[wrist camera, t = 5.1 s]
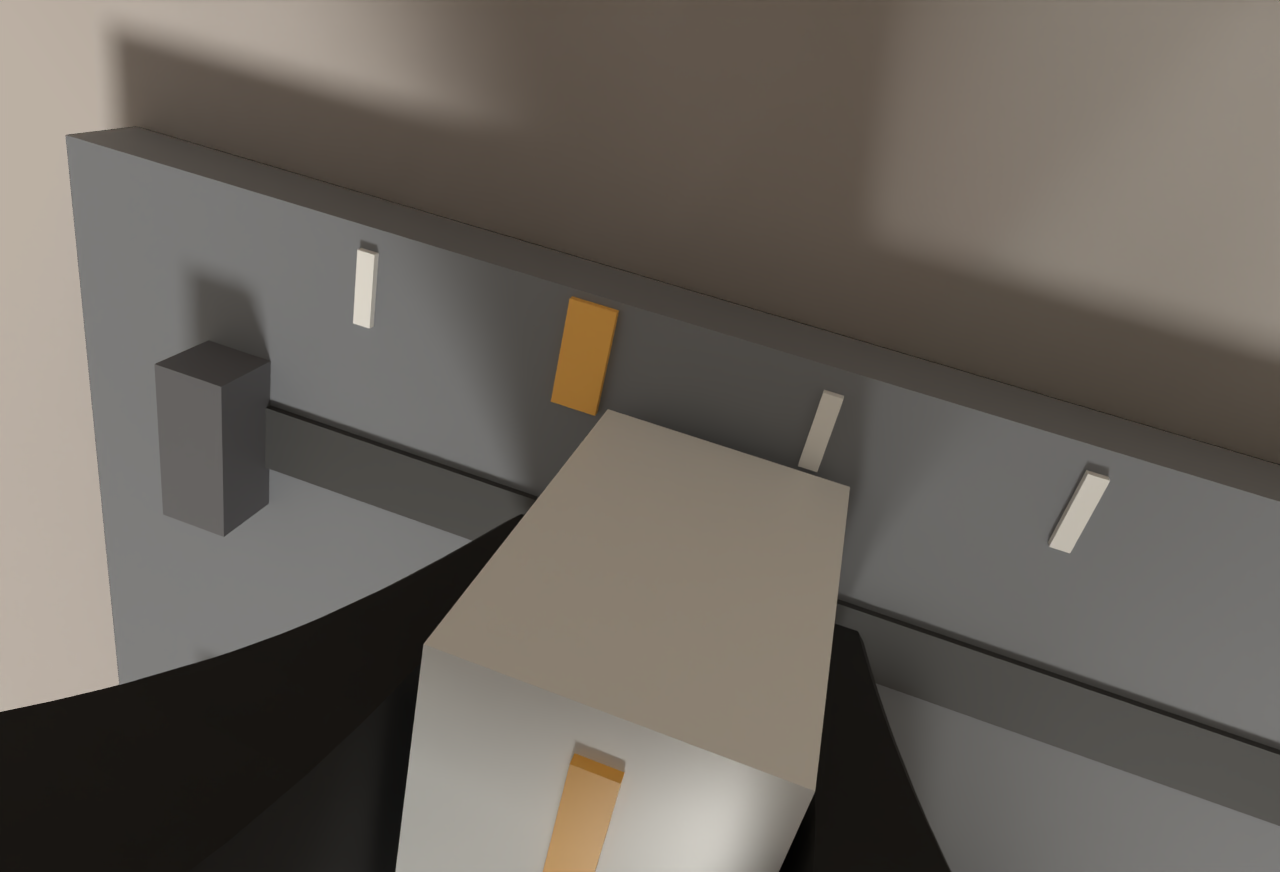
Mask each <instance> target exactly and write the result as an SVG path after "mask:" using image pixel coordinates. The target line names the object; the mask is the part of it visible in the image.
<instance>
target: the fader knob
mask: <svg viewBox="0 0 1280 872" xmlns="http://www.w3.org/2000/svg"><path fill="white" fill-rule="evenodd" d="M849 492H850V487H849V486H845V485H842V484H839V483H836V482H833V481H830V480H827V479H824V478H821V477H817V476H814V475H811V474H808V473H805V472H802V471H799V470H796V469H793V468H789V467H786V466H783V465H780V464H777V463H774V462H771V461H768V460H765V459H761V458H758V457H755V456H752V455H749V454H746V453H743V452H740V451H737V450H734V449H730V448H727V447H724V446H721V445H718V444H715V443H712V442H709V441H706V440H702V439H699V438H696V437H693V436H690V435H687V434H684V433H681V432H678V431H674V430H671V429H668V428H665V427H662V426H659V425H656V424H653V423H650V422H646V421H643V420H640V419H637V418H634V417H631V416H628V415H625V414H622V413H618V412H615V411H612V410H609V409H608V410H607V411H606V412H605V413H604V415H603V416H602V417H601V418H600V420H599V421H598V422H597V424H596V425H595V426H594V427H593V429H592V430H591V431H590V432H589V434H588V435H587V436H586V438H585V439H584V440H583V441H582V443H581V444H580V445H579V446H578V448H577V449H576V450H575V452H574V453H573V454H572V455H571V457H570V458H569V459H568V461H567V462H566V463H565V464H564V466H563V467H562V468H561V469H560V471H559V472H558V473H557V475H556V476H555V477H554V478H553V480H552V481H551V482H550V483H549V485H548V486H547V487H546V489H545V490H544V491H543V492H542V494H541V495H540V496H539V497H538V499H537V500H536V501H535V503H534V504H533V505H532V506H531V508H530V509H529V510H528V512H527V513H526V514H525V515H524V517H523V518H522V519H521V520H520V522H519V523H518V524H517V526H516V527H515V528H514V529H513V531H512V532H511V533H510V534H509V536H508V537H507V538H506V540H505V541H504V542H503V543H502V545H501V546H500V547H499V548H498V550H497V551H496V552H495V554H494V555H493V556H492V557H491V559H490V560H489V561H488V562H487V564H486V565H485V566H484V568H483V569H482V570H481V571H480V573H479V574H478V575H477V577H476V578H475V579H474V580H473V582H472V583H471V584H470V585H469V587H468V588H467V589H466V591H465V592H464V593H463V594H462V596H461V597H460V598H459V599H458V601H457V602H456V603H455V605H454V606H453V607H452V608H451V610H450V611H449V612H448V613H447V615H446V616H445V617H444V619H443V620H442V621H441V622H440V624H439V625H438V626H437V628H436V629H435V630H434V631H433V633H432V634H431V635H430V636H429V638H428V639H427V640H426V642H425V643H424V644H423V652H422V660H421V668H420V677H419V685H418V693H417V701H416V709H415V717H414V725H413V733H412V741H411V750H410V758H409V766H408V774H407V782H406V790H405V798H404V806H403V814H402V823H401V831H400V839H399V847H398V855H397V863H396V871H395V872H779V870H780V868H781V866H782V864H783V861H784V859H785V857H786V855H787V853H788V850H789V848H790V846H791V844H792V842H793V839H794V837H795V835H796V833H797V830H798V828H799V826H800V824H801V822H802V819H803V817H804V815H805V813H806V811H807V808H808V806H809V804H810V802H811V800H812V797H813V795H814V793H815V789H816V780H817V772H818V763H819V754H820V745H821V737H822V728H823V719H824V711H825V702H826V693H827V684H828V676H829V667H830V658H831V649H832V641H833V632H834V623H835V615H836V606H837V597H838V588H839V580H840V571H841V562H842V554H843V545H844V536H845V527H846V519H847V510H848V501H849Z"/></svg>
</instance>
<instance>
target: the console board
mask: <svg viewBox="0 0 1280 872" xmlns="http://www.w3.org/2000/svg"><path fill="white" fill-rule="evenodd" d="M66 145H67V155H68V165H69V175H70V186H71V196H72V206H73V216H74V226H75V237H76V247H77V257H78V267H79V278H80V288H81V298H82V308H83V318H84V329H85V339H86V349H87V359H88V370H89V380H90V390H91V400H92V410H93V421H94V431H95V441H96V451H97V462H98V472H99V482H100V492H101V502H102V513H103V523H104V533H105V543H106V553H107V564H108V574H109V584H110V594H111V605H112V615H113V625H114V635H115V645H116V656H117V666H118V676H119V685H121V684H125V683H128V682H131V681H135V680H138V679H142V678H145V677H149V676H152V675H155V674H159V673H162V672H166V671H169V670H173V669H176V668H179V667H183V666H186V665H190V664H193V663H197V662H200V661H203V660H207V659H210V658H214V657H217V656H220V655H223V654H226V653H229V652H232V651H235V650H238V649H240V648H243V647H246V646H249V645H252V644H254V643H257V642H260V641H263V640H265V639H268V638H271V637H274V636H276V635H279V634H282V633H284V632H287V631H289V630H292V629H294V628H297V627H299V626H302V625H304V624H306V623H309V622H311V621H314V620H316V619H318V618H321V617H323V616H325V615H327V614H329V613H332V612H334V611H336V610H338V609H340V608H342V607H345V606H347V605H349V604H351V603H353V602H355V601H358V600H360V599H362V598H364V597H366V596H368V595H371V594H373V593H375V592H377V591H379V590H381V589H383V588H385V587H387V586H389V585H391V584H393V583H395V582H397V581H399V580H401V579H403V578H405V577H407V576H408V575H410V574H412V573H414V572H416V571H418V570H420V569H422V568H424V567H426V566H427V565H429V564H431V563H433V562H435V561H437V560H439V559H441V558H442V557H444V556H446V555H448V554H450V553H451V552H453V551H455V550H457V549H459V548H460V547H462V546H464V545H466V544H468V543H469V542H471V541H473V540H475V539H476V538H478V537H480V536H482V535H483V534H485V533H487V532H489V531H490V530H492V529H494V528H496V527H497V526H499V525H501V524H503V523H504V522H506V521H508V520H510V519H512V518H514V517H516V516H518V515H520V514H523V515H525V514H526V513H527V512H528V510H529V509H530V508H531V506H532V505H533V504H534V503H535V501H536V500H537V499H538V497H539V496H540V495H541V494H542V492H543V491H544V490H545V489H546V487H547V486H548V485H549V483H550V482H551V481H552V480H553V478H554V477H555V476H556V475H557V473H558V472H559V471H560V469H561V468H562V467H563V466H564V464H565V463H566V462H567V461H568V459H569V458H570V457H571V455H572V454H573V453H574V452H575V450H576V449H577V448H578V446H579V445H580V444H581V443H582V441H583V440H584V439H585V438H586V436H587V435H588V434H589V432H590V431H591V430H592V429H593V427H594V426H595V425H596V424H597V422H598V421H599V420H600V418H601V417H602V416H603V415H604V413H605V412H606V411H607V410H608V409H609V410H612V411H615V412H618V413H622V414H625V415H628V416H631V417H634V418H637V419H640V420H643V421H646V422H650V423H653V424H656V425H659V426H662V427H665V428H668V429H671V430H674V431H678V432H681V433H684V434H687V435H690V436H693V437H696V438H699V439H702V440H706V441H709V442H712V443H715V444H718V445H721V446H724V447H727V448H730V449H734V450H737V451H740V452H743V453H746V454H749V455H752V456H755V457H758V458H761V459H765V460H768V461H771V462H774V463H777V464H780V465H783V466H786V467H789V468H793V469H796V470H799V471H802V472H805V473H808V474H811V475H814V476H817V477H821V478H824V479H827V480H830V481H833V482H836V483H839V484H842V485H845V486H849V487H850V492H849V501H848V510H847V519H846V527H845V536H844V545H843V554H842V562H841V571H840V580H839V588H838V597H837V606H836V615H835V623H836V624H838V625H841V626H844V627H847V628H850V629H853V630H856V631H858V632H859V634H860V636H861V638H862V640H863V642H864V645H865V649H866V652H867V656H868V659H869V663H870V666H871V670H872V673H873V676H874V680H875V683H876V686H877V689H878V692H879V695H880V698H881V701H882V704H883V707H884V710H885V713H886V716H887V719H888V722H889V725H890V727H891V730H892V733H893V736H894V738H895V741H896V744H897V746H898V749H899V751H900V754H901V757H902V759H903V762H904V764H905V767H906V769H907V772H908V774H909V777H910V779H911V782H912V785H913V787H914V790H915V792H916V794H917V797H918V799H919V801H920V804H921V806H922V808H923V811H924V813H925V815H926V818H927V820H928V822H929V825H930V827H931V829H932V831H933V833H934V835H935V838H936V840H937V842H938V844H939V846H940V848H941V851H942V853H943V855H944V857H945V859H946V861H947V864H948V866H949V868H950V870H951V872H1280V465H1277V464H1274V463H1271V462H1267V461H1264V460H1260V459H1257V458H1254V457H1250V456H1247V455H1244V454H1240V453H1237V452H1233V451H1230V450H1227V449H1223V448H1220V447H1217V446H1213V445H1210V444H1206V443H1203V442H1200V441H1196V440H1193V439H1190V438H1186V437H1183V436H1179V435H1176V434H1173V433H1169V432H1166V431H1163V430H1159V429H1156V428H1152V427H1149V426H1146V425H1142V424H1139V423H1136V422H1132V421H1129V420H1125V419H1122V418H1119V417H1115V416H1112V415H1109V414H1105V413H1102V412H1098V411H1095V410H1092V409H1088V408H1085V407H1082V406H1078V405H1075V404H1071V403H1068V402H1065V401H1061V400H1058V399H1055V398H1051V397H1048V396H1044V395H1041V394H1038V393H1034V392H1031V391H1028V390H1024V389H1021V388H1017V387H1014V386H1011V385H1007V384H1004V383H1001V382H997V381H994V380H990V379H987V378H984V377H980V376H977V375H974V374H970V373H967V372H963V371H960V370H957V369H953V368H950V367H947V366H943V365H940V364H936V363H933V362H930V361H926V360H923V359H920V358H916V357H913V356H909V355H906V354H903V353H899V352H896V351H893V350H889V349H886V348H882V347H879V346H876V345H872V344H869V343H866V342H862V341H859V340H855V339H852V338H849V337H845V336H842V335H839V334H835V333H832V332H828V331H825V330H822V329H818V328H815V327H812V326H808V325H805V324H801V323H798V322H795V321H791V320H788V319H785V318H781V317H778V316H774V315H771V314H768V313H764V312H761V311H758V310H754V309H751V308H747V307H744V306H741V305H737V304H734V303H731V302H727V301H724V300H720V299H717V298H714V297H710V296H707V295H704V294H700V293H697V292H693V291H690V290H687V289H683V288H680V287H677V286H673V285H670V284H666V283H663V282H660V281H656V280H653V279H650V278H646V277H643V276H639V275H636V274H633V273H629V272H626V271H623V270H619V269H616V268H612V267H609V266H606V265H602V264H599V263H596V262H592V261H589V260H585V259H582V258H579V257H575V256H572V255H569V254H565V253H562V252H558V251H555V250H552V249H548V248H545V247H542V246H538V245H535V244H531V243H528V242H525V241H521V240H518V239H514V238H511V237H508V236H504V235H501V234H498V233H494V232H491V231H487V230H484V229H481V228H477V227H474V226H471V225H467V224H464V223H460V222H457V221H454V220H450V219H447V218H444V217H440V216H437V215H433V214H430V213H427V212H423V211H420V210H417V209H413V208H410V207H406V206H403V205H400V204H396V203H393V202H390V201H386V200H383V199H379V198H376V197H373V196H369V195H366V194H363V193H359V192H356V191H352V190H349V189H346V188H342V187H339V186H336V185H332V184H329V183H325V182H322V181H319V180H315V179H312V178H309V177H305V176H302V175H298V174H295V173H292V172H288V171H285V170H282V169H278V168H275V167H271V166H268V165H265V164H261V163H258V162H255V161H251V160H248V159H244V158H241V157H238V156H234V155H231V154H228V153H224V152H221V151H217V150H214V149H211V148H207V147H204V146H201V145H197V144H194V143H190V142H187V141H184V140H180V139H177V138H174V137H170V136H167V135H163V134H160V133H157V132H153V131H150V130H147V129H143V128H140V127H136V126H135V127H127V128H119V129H111V130H102V131H94V132H86V133H77V134H69V135H66Z"/></svg>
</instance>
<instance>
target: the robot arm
mask: <svg viewBox="0 0 1280 872" xmlns="http://www.w3.org/2000/svg"><path fill="white" fill-rule="evenodd" d="M523 517H524V515H523V514H520V515H518V516H516V517H514V518H512V519H510V520H508V521H506V522H504V523H503V524H501V525H499V526H497V527H496V528H494V529H492V530H490V531H489V532H487V533H485V534H483V535H482V536H480V537H478V538H476V539H475V540H473V541H471V542H469V543H468V544H466V545H464V546H462V547H460V548H459V549H457V550H455V551H453V552H451V553H450V554H448V555H446V556H444V557H442V558H441V559H439V560H437V561H435V562H433V563H431V564H429V565H427V566H426V567H424V568H422V569H420V570H418V571H416V572H414V573H412V574H410V575H408V576H407V577H405V578H403V579H401V580H399V581H397V582H395V583H393V584H391V585H389V586H387V587H385V588H383V589H381V590H379V591H377V592H375V593H373V594H371V595H368V596H366V597H364V598H362V599H360V600H358V601H355V602H353V603H351V604H349V605H347V606H345V607H342V608H340V609H338V610H336V611H334V612H332V613H329V614H327V615H325V616H323V617H321V618H318V619H316V620H314V621H311V622H309V623H306V624H304V625H302V626H299V627H297V628H294V629H292V630H289V631H287V632H284V633H282V634H279V635H276V636H274V637H271V638H268V639H265V640H263V641H260V642H257V643H254V644H252V645H249V646H246V647H243V648H240V649H238V650H235V651H232V652H229V653H226V654H223V655H220V656H217V657H214V658H210V659H207V660H203V661H200V662H197V663H193V664H190V665H186V666H183V667H179V668H176V669H173V670H169V671H166V672H162V673H159V674H155V675H152V676H149V677H145V678H142V679H138V680H135V681H131V682H128V683H125V684H121V685H117V686H113V687H109V688H105V689H101V690H97V691H93V692H89V693H85V694H80V695H76V696H72V697H68V698H64V699H59V700H55V701H51V702H46V703H41V704H36V705H32V706H27V707H22V708H17V709H13V710H8V711H3V712H0V872H395V871H396V863H397V855H398V847H399V839H400V831H401V823H402V814H403V806H404V798H405V790H406V782H407V774H408V766H409V758H410V750H411V741H412V733H413V725H414V717H415V709H416V701H417V693H418V685H419V677H420V668H421V660H422V652H423V644H424V643H425V642H426V640H427V639H428V638H429V636H430V635H431V634H432V633H433V631H434V630H435V629H436V628H437V626H438V625H439V624H440V622H441V621H442V620H443V619H444V617H445V616H446V615H447V613H448V612H449V611H450V610H451V608H452V607H453V606H454V605H455V603H456V602H457V601H458V599H459V598H460V597H461V596H462V594H463V593H464V592H465V591H466V589H467V588H468V587H469V585H470V584H471V583H472V582H473V580H474V579H475V578H476V577H477V575H478V574H479V573H480V571H481V570H482V569H483V568H484V566H485V565H486V564H487V562H488V561H489V560H490V559H491V557H492V556H493V555H494V554H495V552H496V551H497V550H498V548H499V547H500V546H501V545H502V543H503V542H504V541H505V540H506V538H507V537H508V536H509V534H510V533H511V532H512V531H513V529H514V528H515V527H516V526H517V524H518V523H519V522H520V520H521V519H522V518H523ZM779 872H951V870H950V868H949V866H948V864H947V861H946V859H945V857H944V855H943V853H942V851H941V848H940V846H939V844H938V842H937V840H936V838H935V835H934V833H933V831H932V829H931V827H930V825H929V822H928V820H927V818H926V815H925V813H924V811H923V808H922V806H921V804H920V801H919V799H918V797H917V794H916V792H915V790H914V787H913V785H912V782H911V779H910V777H909V774H908V772H907V769H906V767H905V764H904V762H903V759H902V757H901V754H900V751H899V749H898V746H897V744H896V741H895V738H894V736H893V733H892V730H891V727H890V725H889V722H888V719H887V716H886V713H885V710H884V707H883V704H882V701H881V698H880V695H879V692H878V689H877V686H876V683H875V680H874V676H873V673H872V670H871V666H870V663H869V659H868V656H867V652H866V649H865V645H864V642H863V640H862V638H861V636H860V634H859V632H858V631H856V630H853V629H850V628H847V627H844V626H841V625H838V624H836V623H834V632H833V641H832V649H831V658H830V667H829V676H828V684H827V693H826V702H825V711H824V719H823V728H822V737H821V745H820V754H819V763H818V772H817V780H816V789H815V793H814V795H813V797H812V800H811V802H810V804H809V806H808V808H807V811H806V813H805V815H804V817H803V819H802V822H801V824H800V826H799V828H798V830H797V833H796V835H795V837H794V839H793V842H792V844H791V846H790V848H789V850H788V853H787V855H786V857H785V859H784V861H783V864H782V866H781V868H780V870H779Z"/></svg>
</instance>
